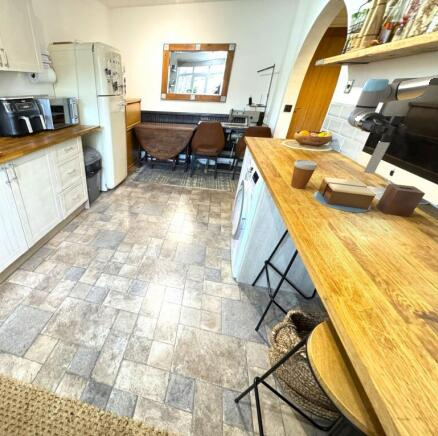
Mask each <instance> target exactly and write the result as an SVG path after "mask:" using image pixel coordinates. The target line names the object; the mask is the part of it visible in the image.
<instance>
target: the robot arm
mask: <svg viewBox="0 0 438 436" xmlns="http://www.w3.org/2000/svg"><path fill="white" fill-rule="evenodd" d="M433 78H438V74H433V75H429V76H423V77H418V78H412V79H407V80H403V81H396V82H392V83H391V82H390V79H388V78H369V79H367V80H366V82H365V84H364V86H363V87H362V90H361V92H360V95H359V96H358V100H357V102H356V105H355V107H354V109H353V110H351V112H350V113H349V114H348V116H347V118H346V119H347V123H348V124H349V125H350V126H351V127H353V128H355V129H359V130H361V132H365V133H376V134H378V135H380V134H381V133H382V134H383V133H385V134H387V135H390V136H393V137H394V135H396V136H399V137H405V136H406V134H407V133H408V131H409V127H407V125H406V124H403V123H402V122H400V124H399V126H398V128H397V127H393V126H390V125H388V123H389V121H390V120H387V119H386V116H385V114H383V113H380V112H377V109H378V107H379V104H380V103H381V104H386V103H387V104H388V103H391V102H397V101H404V100H409V99H417V98H416V97H418V96H420V95H422V94H423V93H424V92H425V91H426V89H427V87H428V85H429V82H430V80H431V79H433ZM418 98H419V97H418ZM396 129H397V130H396ZM395 131H396V132H395ZM393 134H394V135H393Z"/></svg>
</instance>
